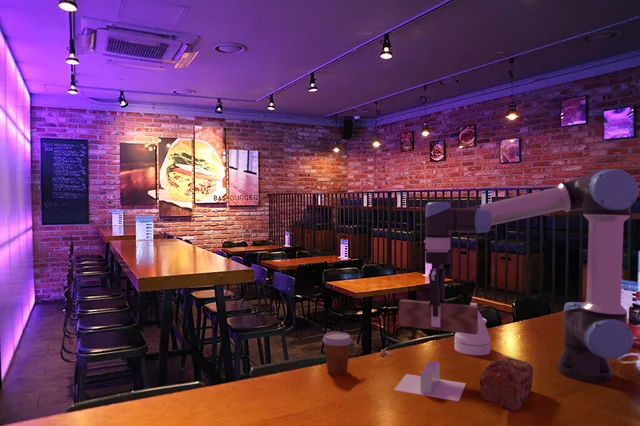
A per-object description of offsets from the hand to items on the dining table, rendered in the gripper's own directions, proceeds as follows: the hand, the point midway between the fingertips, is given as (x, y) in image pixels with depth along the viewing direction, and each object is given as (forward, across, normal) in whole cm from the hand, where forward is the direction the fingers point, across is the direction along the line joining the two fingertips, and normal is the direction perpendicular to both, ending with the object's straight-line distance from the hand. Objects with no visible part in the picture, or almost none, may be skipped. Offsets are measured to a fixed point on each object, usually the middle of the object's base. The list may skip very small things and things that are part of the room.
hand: (437, 325), depth 141 cm
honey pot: (+17, -36, +6) cm, 40 cm away
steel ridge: (+15, +12, +1) cm, 19 cm away
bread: (+17, +6, +21) cm, 28 cm away
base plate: (+17, +12, +1) cm, 20 cm away
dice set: (+18, -14, -22) cm, 32 cm away
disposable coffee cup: (+17, +9, -30) cm, 36 cm away
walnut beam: (+1, 0, 0) cm, 1 cm away
